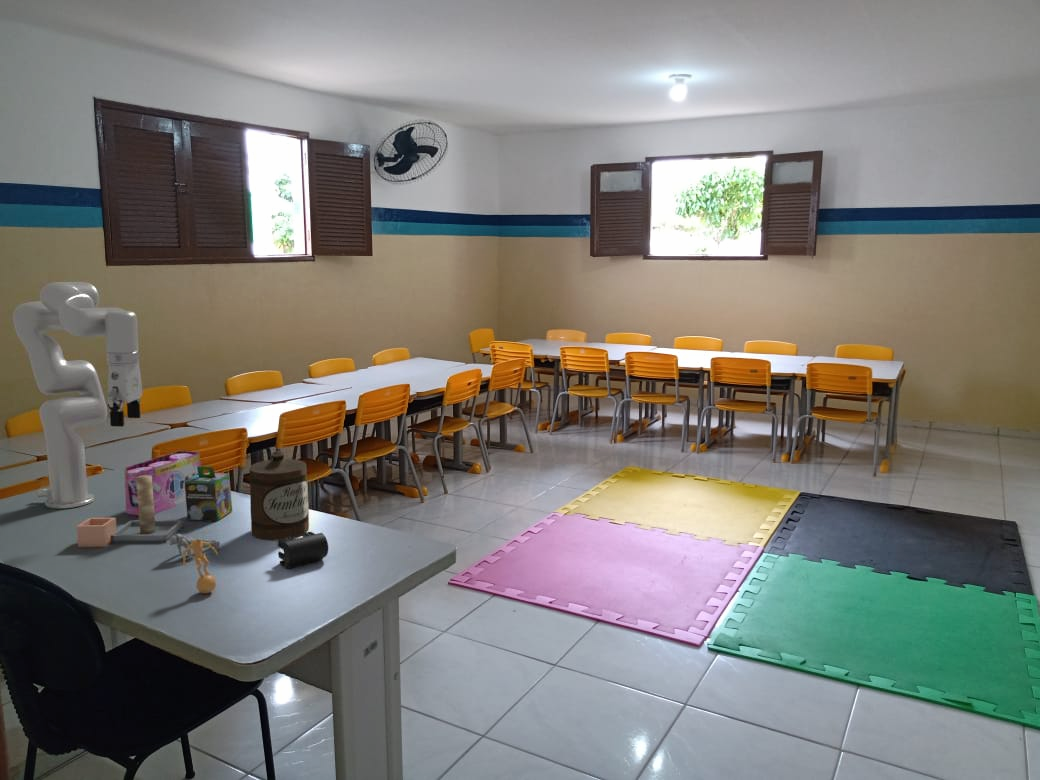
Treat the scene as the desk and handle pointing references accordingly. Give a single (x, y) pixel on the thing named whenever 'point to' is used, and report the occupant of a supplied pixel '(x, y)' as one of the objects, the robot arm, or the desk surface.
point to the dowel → (146, 504)
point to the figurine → (205, 581)
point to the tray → (161, 534)
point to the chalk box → (208, 495)
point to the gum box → (162, 479)
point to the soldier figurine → (185, 542)
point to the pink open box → (96, 532)
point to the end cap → (302, 549)
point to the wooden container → (279, 498)
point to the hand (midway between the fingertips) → (125, 421)
